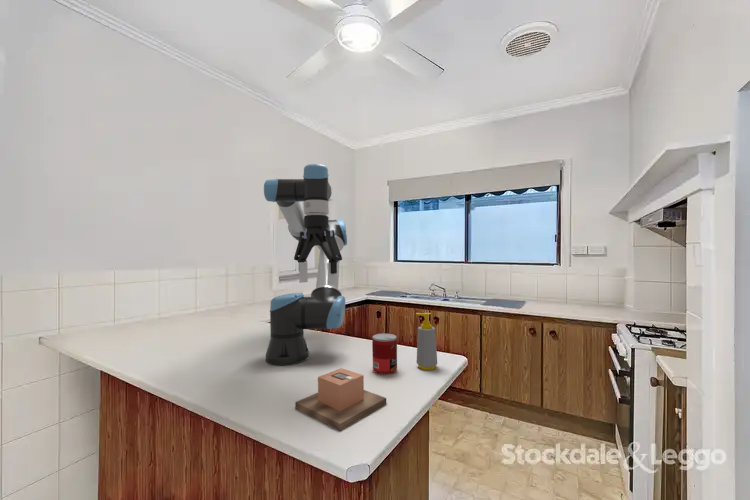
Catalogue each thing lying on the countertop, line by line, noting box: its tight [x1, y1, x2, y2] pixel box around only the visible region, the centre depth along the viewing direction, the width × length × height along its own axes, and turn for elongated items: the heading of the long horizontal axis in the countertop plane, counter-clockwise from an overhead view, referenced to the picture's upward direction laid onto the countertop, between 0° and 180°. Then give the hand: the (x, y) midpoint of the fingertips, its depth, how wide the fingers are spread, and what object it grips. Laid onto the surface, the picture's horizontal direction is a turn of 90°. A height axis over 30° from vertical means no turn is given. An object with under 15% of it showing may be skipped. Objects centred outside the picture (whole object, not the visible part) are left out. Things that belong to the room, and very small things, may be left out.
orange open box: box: [317, 367, 365, 411], centre depth 81 cm, size 8×8×6 cm
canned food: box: [371, 333, 398, 375], centre depth 106 cm, size 8×8×11 cm
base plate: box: [294, 373, 387, 431], centre depth 82 cm, size 16×16×8 cm
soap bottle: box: [415, 312, 438, 371], centre depth 108 cm, size 7×7×18 cm
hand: (317, 283), depth 102 cm, fingers open, 13 cm apart
